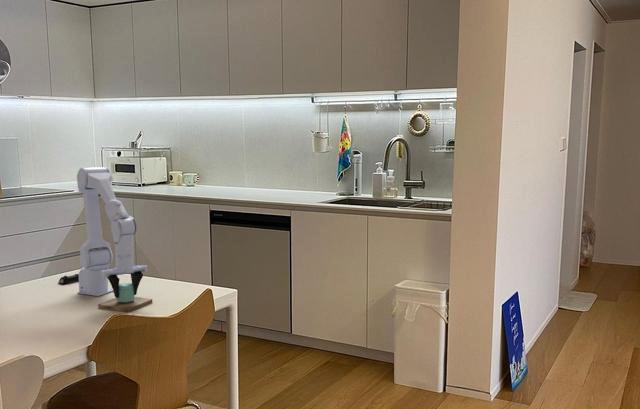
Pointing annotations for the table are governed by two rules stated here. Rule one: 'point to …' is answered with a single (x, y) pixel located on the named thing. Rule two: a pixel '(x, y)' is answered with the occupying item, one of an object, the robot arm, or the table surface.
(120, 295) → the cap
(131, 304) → the post board
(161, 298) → the table surface
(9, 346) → the table surface
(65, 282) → the electric trimmer
